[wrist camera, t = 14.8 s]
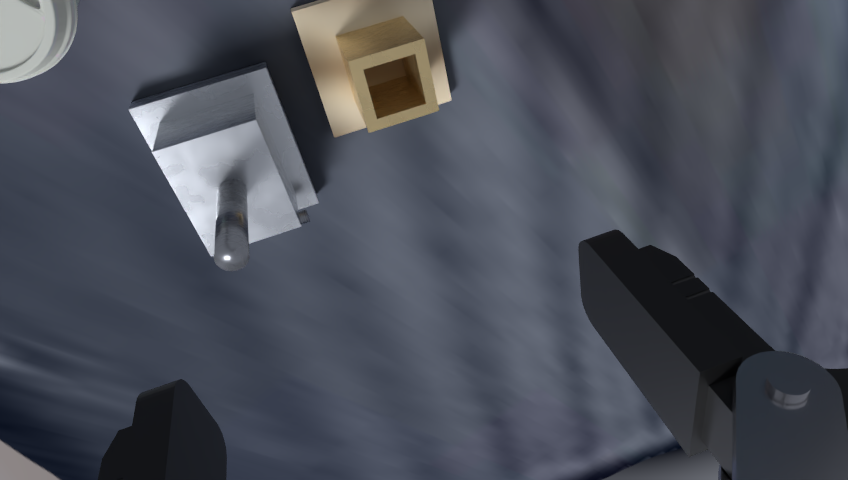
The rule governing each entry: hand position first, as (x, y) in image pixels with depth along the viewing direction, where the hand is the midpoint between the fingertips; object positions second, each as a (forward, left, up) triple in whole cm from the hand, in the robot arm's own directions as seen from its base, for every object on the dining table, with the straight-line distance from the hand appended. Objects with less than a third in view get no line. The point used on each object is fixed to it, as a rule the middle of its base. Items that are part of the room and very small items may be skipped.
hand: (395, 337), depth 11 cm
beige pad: (+7, +5, -36) cm, 37 cm away
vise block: (+11, -8, -36) cm, 39 cm away
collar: (+7, +5, -35) cm, 36 cm away
